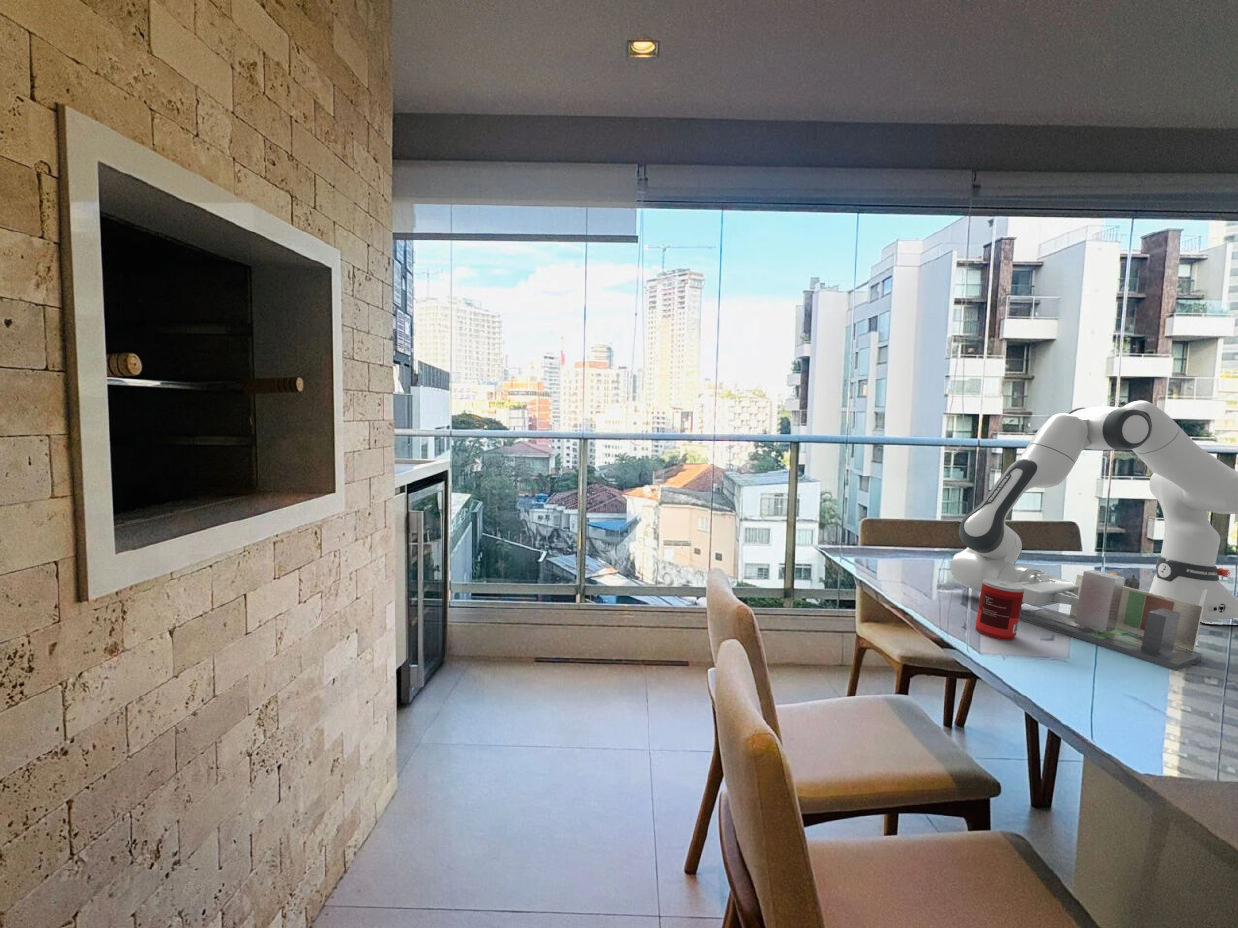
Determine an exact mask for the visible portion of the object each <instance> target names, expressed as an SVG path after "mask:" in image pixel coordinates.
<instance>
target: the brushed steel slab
mask: <svg viewBox="0 0 1238 928" xmlns="http://www.w3.org/2000/svg"><path fill="white" fill-rule="evenodd" d="M1082 574H1083V575H1082V576H1083V579H1082V584H1081V590H1080V595H1079V600H1078V606H1077V611H1076V616H1074V617H1075V622H1074V623H1075V624H1078V625H1081V626H1084V627H1088V628H1091V629H1094V630H1097V631H1101V632H1104V633H1107V632H1110V631H1114V630H1115V629H1116V628H1115V626H1116V621H1117V616H1118V611H1119V605H1120V600H1121V595H1122V590H1123V586H1124V582H1125V579H1126V578H1125V577H1124V576H1119V575H1118V572H1108V573H1107V572H1104V571H1099V570H1096V569H1091V570H1084V571H1083V573H1082Z"/></svg>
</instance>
